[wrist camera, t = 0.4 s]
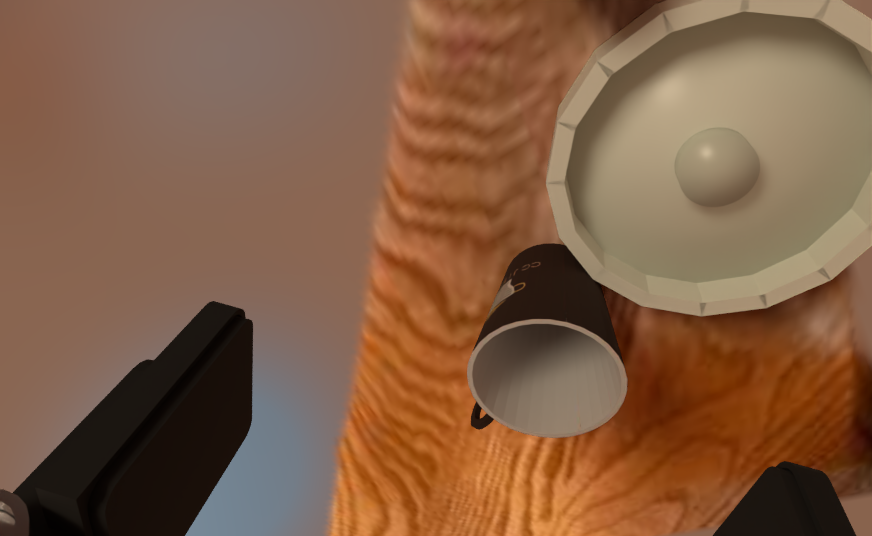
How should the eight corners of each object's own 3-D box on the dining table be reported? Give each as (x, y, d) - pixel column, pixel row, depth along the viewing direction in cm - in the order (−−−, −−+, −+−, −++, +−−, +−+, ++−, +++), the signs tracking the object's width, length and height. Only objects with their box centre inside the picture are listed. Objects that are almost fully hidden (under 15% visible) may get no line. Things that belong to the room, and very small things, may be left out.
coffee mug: (581, 207, 36) (583, 296, 28) (636, 308, 39) (653, 415, 31) (432, 274, 41) (395, 366, 33) (491, 359, 44) (471, 462, 36)
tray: (801, -107, 26) (826, -110, 23) (952, 189, 31) (985, 213, 28) (491, 127, 34) (485, 144, 32) (649, 328, 39) (654, 356, 37)
